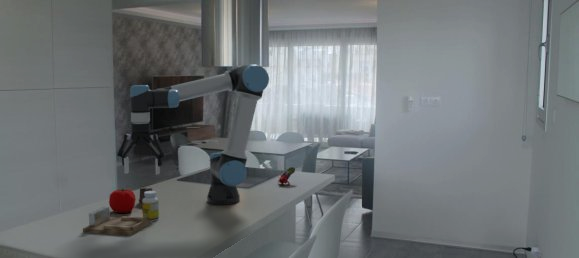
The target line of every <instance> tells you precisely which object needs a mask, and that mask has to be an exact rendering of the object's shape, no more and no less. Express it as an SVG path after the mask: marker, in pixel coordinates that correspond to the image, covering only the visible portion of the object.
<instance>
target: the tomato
mask: <svg viewBox="0 0 579 258" xmlns="http://www.w3.org/2000/svg"><path fill="white" fill-rule="evenodd" d="M136 199H137V198H136V194H135V193H134V191H133V190H131V189H127V188H126V189H124V188H122V189H116V190H113V191H112V192H111V193H110V194H109V200H108V205H109V208H110V209H111V210H112V211H113V212H116V213H121V214H126V213H130V212H132V211H133V210H134V207H135V206H136Z"/></svg>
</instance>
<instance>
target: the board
mask: <svg viewBox="0 0 579 258" xmlns="http://www.w3.org/2000/svg"><path fill="white" fill-rule="evenodd" d="M152 223H153V221H152V220H150V218H143V217H137V216H121V217H115V216H114V217H112V216H110V220H107V221H105V222H103V223H101V224H99V225H97V226H95V227H94V226H89V225H87V226H85V227H83V228H82V233H85V234H97V235H113V236H126V237H128V236H129V237H131V236H133V235H134V234H137V233H138V232H140V231H141V230H143V229H145V228H147V227H149V226H150V225H152Z"/></svg>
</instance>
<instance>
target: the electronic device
mask: <svg viewBox="0 0 579 258" xmlns="http://www.w3.org/2000/svg"><path fill="white" fill-rule="evenodd" d="M146 191H153V188H152V187H143V188H140V189H139V199H138V203H139V204H142V200H143V199H144V198H145V196H144V192H146Z"/></svg>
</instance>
